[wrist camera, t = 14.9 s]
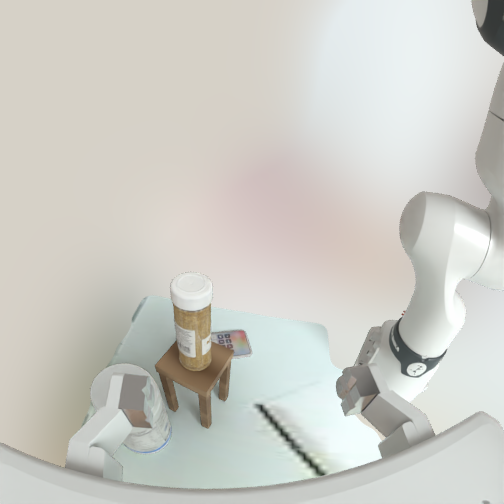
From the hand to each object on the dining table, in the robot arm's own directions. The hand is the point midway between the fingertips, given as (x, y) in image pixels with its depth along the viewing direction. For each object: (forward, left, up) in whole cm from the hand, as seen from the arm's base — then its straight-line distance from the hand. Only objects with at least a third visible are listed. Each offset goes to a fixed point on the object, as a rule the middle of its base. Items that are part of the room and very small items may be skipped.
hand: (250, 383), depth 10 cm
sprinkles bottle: (-13, -11, -22) cm, 28 cm away
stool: (-13, -12, -36) cm, 40 cm away
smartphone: (-26, -16, -37) cm, 48 cm away
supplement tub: (-3, -16, -36) cm, 40 cm away
